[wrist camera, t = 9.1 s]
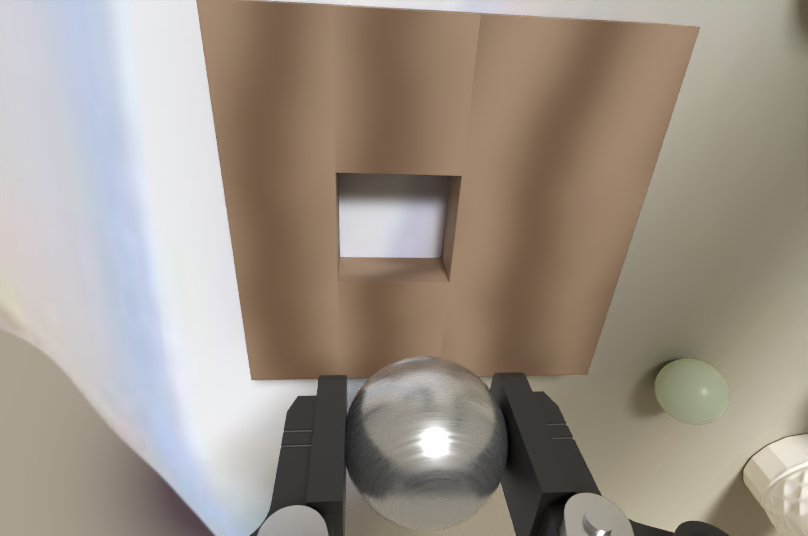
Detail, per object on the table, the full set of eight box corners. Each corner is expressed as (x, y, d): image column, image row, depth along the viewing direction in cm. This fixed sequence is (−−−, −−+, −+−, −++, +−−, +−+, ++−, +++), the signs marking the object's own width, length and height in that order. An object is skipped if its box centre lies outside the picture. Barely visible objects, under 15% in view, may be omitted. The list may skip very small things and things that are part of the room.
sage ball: (712, 345, 30) (756, 389, 27) (690, 390, 32) (729, 438, 29) (653, 345, 30) (691, 391, 27) (634, 391, 32) (668, 439, 29)
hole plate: (664, 23, 21) (700, 26, 18) (570, 346, 29) (587, 374, 27) (215, -3, 19) (196, -3, 17) (260, 349, 28) (251, 380, 26)
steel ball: (495, 323, 13) (548, 447, 9) (475, 428, 15) (513, 562, 11) (344, 324, 12) (339, 455, 9) (345, 432, 14) (341, 573, 11)
